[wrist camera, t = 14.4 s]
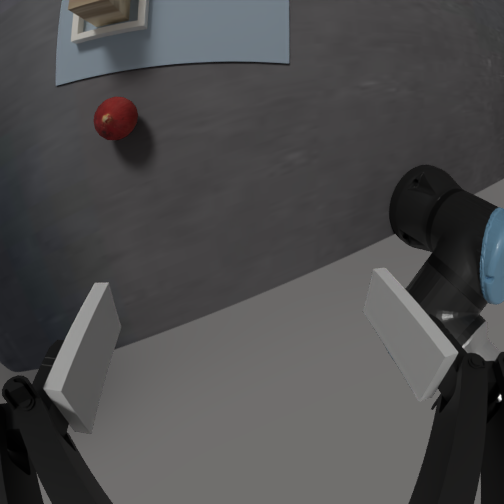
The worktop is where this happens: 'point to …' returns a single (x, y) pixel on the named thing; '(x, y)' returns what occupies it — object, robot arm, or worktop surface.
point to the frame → (139, 24)
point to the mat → (178, 37)
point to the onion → (115, 118)
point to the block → (101, 11)
